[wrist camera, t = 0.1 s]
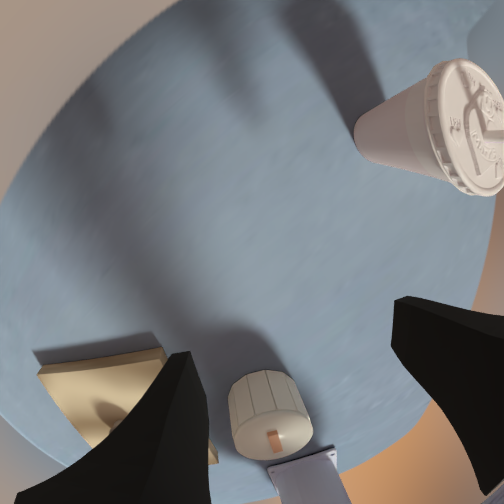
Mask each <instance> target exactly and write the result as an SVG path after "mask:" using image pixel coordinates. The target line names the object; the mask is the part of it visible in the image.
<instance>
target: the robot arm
mask: <svg viewBox="0 0 504 504" xmlns="http://www.w3.org/2000/svg"><path fill="white" fill-rule="evenodd" d="M391 347H392V349H393V351H394V352H395V354H396V355H397V357H398V358H399V360H400V361H401V363H402V364H403V366H404V367H405V368H406V369H407V370H408V372H409V373H410V374H411V375H412V376H413V377H414V378H415V379H416V381H417V382H418V383H419V384H420V385H421V386H422V387H423V388H424V389H425V391H426V392H427V393H428V394H429V395H430V396H431V397H432V398H433V400H434V401H435V402H436V403H437V404H438V406H439V407H440V408H441V409H442V410H443V412H444V414H445V415H446V417H447V418H448V420H449V421H450V423H451V425H452V426H453V428H454V430H455V431H456V433H457V435H458V437H459V438H460V440H461V442H462V444H463V446H464V448H465V450H466V452H467V455H468V457H469V459H470V461H471V464H472V466H473V469H474V472H475V475H476V477H477V480H478V484H479V487H480V490H481V491H482V493H483V494H484V495H485V496H487V495H488V494H489V493H490V492H491V491H492V490H494V489H495V488H496V487H497V486H498V485H499V484H500V483H501V482H502V481H504V316H500V315H492V314H486V313H480V312H476V311H471V310H466V309H462V308H458V307H454V306H450V305H446V304H442V303H438V302H435V301H431V300H426V299H422V298H417V297H412V296H406V297H403V298H400V299H397V300H394V316H393V328H392V339H391ZM208 448H209V418H208V409H207V400H206V394H205V392H204V389H203V386H202V384H201V381H200V378H199V376H198V373H197V370H196V367H195V364H194V361H193V358H192V356H191V353H190V351H187V352H181V353H174V354H172V355H171V356H170V357H169V359H168V360H167V362H166V363H165V365H164V366H163V367H162V369H161V370H160V372H159V373H158V375H157V376H156V378H155V379H154V381H153V382H152V384H151V385H150V386H149V388H148V389H147V391H146V392H145V393H144V395H143V396H142V397H141V399H140V400H139V401H138V402H137V404H136V405H135V406H134V407H133V409H132V410H131V411H130V412H129V414H128V415H127V416H126V417H125V418H124V419H123V421H122V422H121V423H120V424H119V425H118V426H117V427H116V428H115V429H114V430H113V431H112V432H111V433H110V434H109V435H108V436H107V437H106V438H105V439H104V440H103V441H102V442H100V443H99V444H98V445H97V446H96V447H94V448H93V449H92V450H91V451H89V452H88V453H87V454H86V455H85V456H83V457H82V458H81V459H79V460H78V461H77V462H75V463H74V464H72V465H71V466H69V467H68V468H66V469H65V470H63V471H62V472H60V473H58V474H57V475H55V476H53V477H51V478H49V479H48V480H46V481H44V482H42V483H40V484H37V485H35V486H33V487H31V488H28V489H26V490H24V491H22V492H19V493H17V496H16V499H15V502H14V504H211V498H210V491H209V478H208ZM267 471H268V473H269V476H270V478H271V480H272V482H273V484H274V486H275V488H276V491H277V493H278V495H279V496H280V499H281V502H282V504H352V503H351V501H350V499H349V497H348V495H347V492H346V490H345V488H344V486H343V483H342V481H341V479H340V477H339V475H338V472H337V450H336V448H331V449H328V450H326V451H323V452H320V453H317V454H314V455H311V456H307V457H304V458H301V459H297V460H294V461H290V462H287V463H283V464H279V465H275V466H271V467H268V468H267ZM481 504H504V484H503V485H502V486H501V487H500V488H499V489H498V490H497V491H496V492H494V493H493V494H492V495H491V496H490V497H489V498H488V499H486V500H485V501H484V502H483V503H481Z"/></svg>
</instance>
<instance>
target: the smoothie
mask: <svg viewBox="0 0 504 504" xmlns="http://www.w3.org/2000/svg"><path fill="white" fill-rule="evenodd" d="M354 141H355V144H356V147H357V149H358V151H359V152H360V153H361V155H362V156H363V157H364V158H366V159H367V160H368V161H370V162H373V163H377V164H382V165H387V166H391V167H395V168H399V169H404V170H408V171H412V172H415V173H419V174H423V175H427V176H430V177H434V178H437V179H440V180H444V181H447V182H451V183H452V184H453V185H454V186H455V187H456V188H457V189H459V190H460V191H461V192H464V193H466V194H469V195H480V196H492V195H494V194H496V193H497V192H498V191H499V190H501V188H502V187H503V186H504V100H503V98H502V96H501V94H500V92H499V90H498V88H497V87H496V85H495V84H494V82H493V81H492V79H490V77H489V76H488V75H487V74H486V72H485V71H483V70H482V69H481V68H480V67H479V66H478V65H476V64H474V63H473V62H471V61H469V60H466V59H460V58H458V59H454V60H451V61H442V62H440V63H439V64H437V65H435V66H434V67H433V68H432V70H431V71H430V73H429V75H428V76H427V78H425V79H423V80H421V81H419V82H417V83H416V84H414V85H412V86H411V87H409V88H407V89H405V90H404V91H402V92H400V93H398V94H397V95H395V96H393V97H392V98H390V99H388V100H386V101H385V102H383V103H381V104H380V105H378V106H376V107H375V108H373V109H371V110H370V111H368V112H366V113H365V114H363V115H362V116H361V117H359V119H358V120H357V122H356V124H355V127H354Z"/></svg>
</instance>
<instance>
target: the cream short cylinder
mask: <svg viewBox="0 0 504 504" xmlns="http://www.w3.org/2000/svg"><path fill="white" fill-rule="evenodd" d="M228 405H229V413H230V421H231V429H232V437H233V440H234V442H235V447H236V450H237V451H238V452H239V453H240V454H241V455H243V456H245V457H247V458H250V459H255V460H273V459H278V458H282V457H286V456H288V455H291V454H293V453H295V452H297V451H298V450H300V449H301V448H303V447H304V446H305V445H306V444H307V443H308V442H309V441H310V439H311V437H312V435H313V427H312V425H311V422H310V417H309V415H308V413H307V410H306V408H305V406H304V403H303V401H302V398H301V396H300V394H299V391H298V389H297V387H296V384H295V382H294V380H293V379H291V378H290V377H289V376H287V375H286V374H285V373H282V372H279V371H271V370H262V371H258V372H254V373H250V374H247V375H245V376H244V377H242V378H241V379H240V380H238V381H237V382H236V383H234V384H233V386H232V387H231V390H230V392H229V395H228Z"/></svg>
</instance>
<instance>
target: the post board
mask: <svg viewBox="0 0 504 504" xmlns="http://www.w3.org/2000/svg"><path fill="white" fill-rule="evenodd" d="M167 360H168V358H167V356H166V354H165V352H164V350H163V347H159V348H154V349H149V350H143V351H138V352H132V353H126V354H120V355H114V356H108V357H102V358H95V359H88V360H81V361H73V362H65V363H57V364H48V365H43V366H42V368H41V369H40V370H39V372H38V373H37V376H38V378H39V379H40V381H41V382H42V384H43V385H44V387H45V388H46V390H47V391H48V393H49V394H50V396H51V397H52V399H53V400H54V401H55V403H56V404H57V405H58V407H59V408H60V410H61V411H62V412H63V413H64V415H65V416H66V417H67V419H68V420H69V421H70V422H71V424H72V425H73V426H74V427H75V429H76V430H77V431H78V432H79V433H80V435H81V436H82V437H83V438H84V439H85V440H86V441H87V443H88V444H89V445H90V446H91V447H92V448H94V447H96V446H97V445H98V444H99V443H100V442H102V441H103V440H104V439H105V438H106V437H107V436H108V435H109V434H110V433H111V432H112V431H113V430H114V429H115V428H116V427H117V426H118V425H119V424H120V423H121V422H122V421H123V419H124V418H125V417H126V416H127V415H128V414H129V412H130V411H131V410H132V409H133V407H134V406H135V405H136V404H137V402H138V401H139V400H140V399H141V397H142V396H143V395H144V393H145V392H146V391H147V389H148V388H149V386H150V385H151V384H152V382H153V381H154V379H155V378H156V376H157V375H158V373H159V372H160V370H161V369H162V367H163V366H164V365H165V363H166V362H167ZM218 463H219V462H218V452H217V450H216V449H215V447H214V445H213V444H212V442H211V440H210V439H209V448H208V465H211V464H218Z"/></svg>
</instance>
